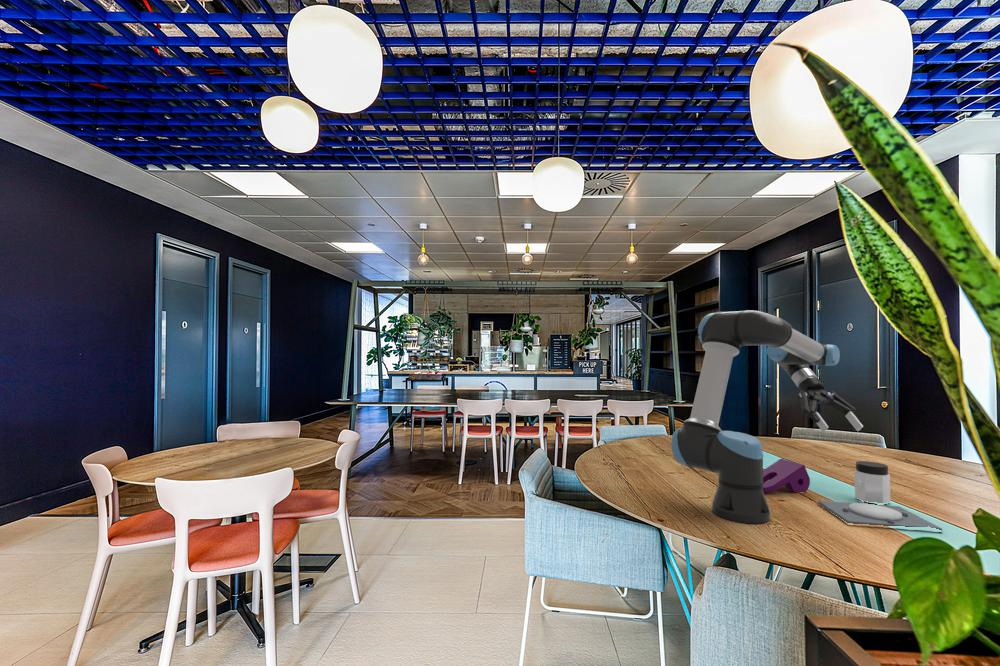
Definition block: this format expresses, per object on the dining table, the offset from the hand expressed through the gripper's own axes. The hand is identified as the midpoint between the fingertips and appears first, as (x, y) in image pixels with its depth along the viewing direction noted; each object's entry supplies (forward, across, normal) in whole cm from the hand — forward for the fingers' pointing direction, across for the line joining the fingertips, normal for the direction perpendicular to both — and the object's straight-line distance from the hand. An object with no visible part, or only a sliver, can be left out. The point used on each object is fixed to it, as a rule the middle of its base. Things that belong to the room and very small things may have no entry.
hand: (843, 429), depth 160 cm
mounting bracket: (+13, +23, -18) cm, 32 cm away
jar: (+23, +1, -8) cm, 24 cm away
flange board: (+32, +14, +2) cm, 35 cm away
